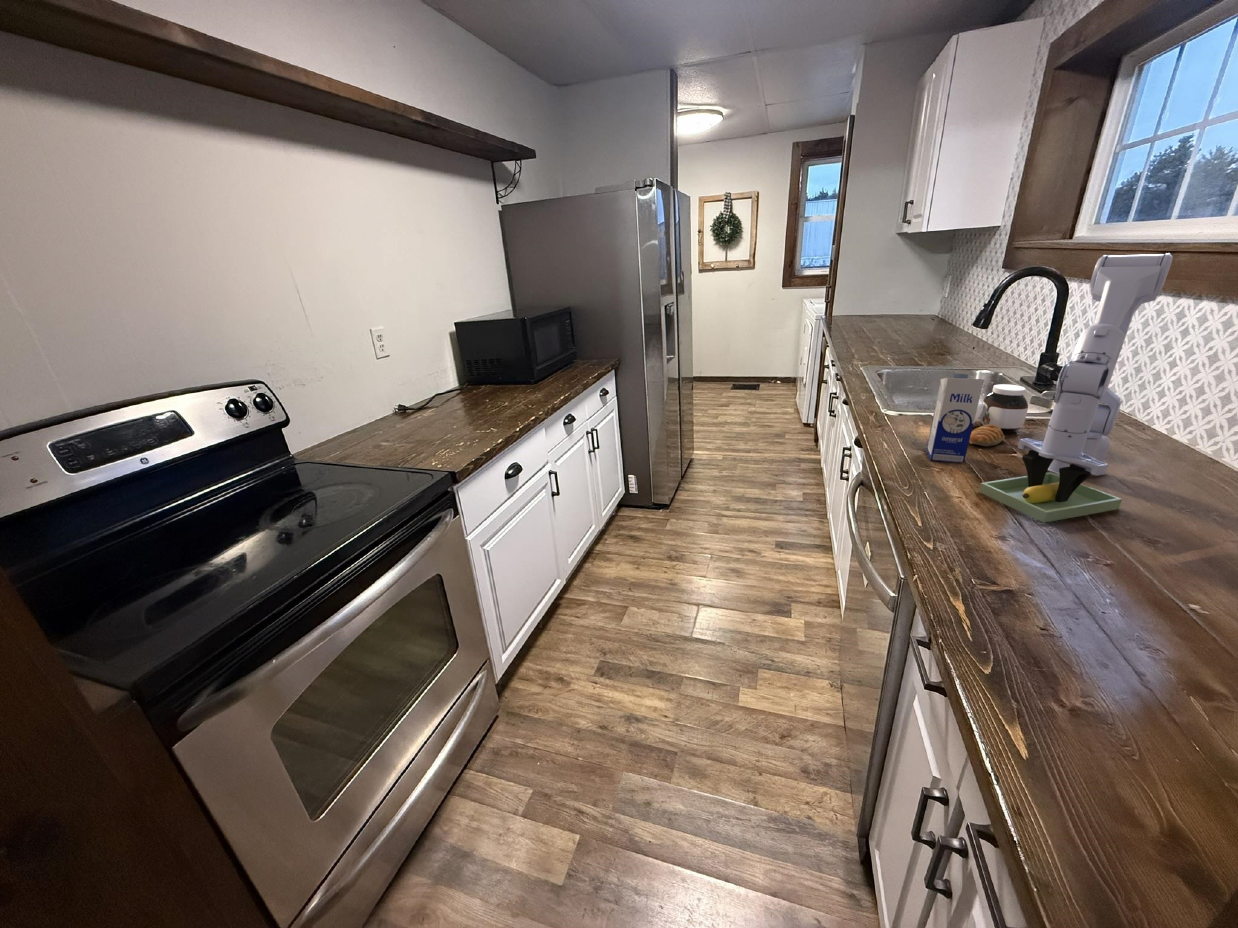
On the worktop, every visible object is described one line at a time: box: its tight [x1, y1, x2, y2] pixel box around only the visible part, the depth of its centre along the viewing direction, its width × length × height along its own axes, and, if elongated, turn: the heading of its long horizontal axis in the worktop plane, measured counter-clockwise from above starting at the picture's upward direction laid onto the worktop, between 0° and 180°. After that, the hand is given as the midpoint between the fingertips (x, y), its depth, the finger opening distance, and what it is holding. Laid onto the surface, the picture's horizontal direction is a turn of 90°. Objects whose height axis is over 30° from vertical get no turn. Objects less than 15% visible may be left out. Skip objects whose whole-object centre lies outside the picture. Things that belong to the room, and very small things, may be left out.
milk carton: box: [925, 373, 985, 464], centre depth 115 cm, size 7×7×20 cm
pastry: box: [969, 425, 1006, 448], centre depth 126 cm, size 9×7×4 cm
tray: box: [978, 471, 1123, 524], centre depth 96 cm, size 17×13×3 cm
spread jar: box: [974, 383, 1029, 434], centre depth 134 cm, size 12×11×12 cm
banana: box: [1022, 482, 1059, 503], centre depth 95 cm, size 11×3×3 cm, turn 103°
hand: (1047, 495), depth 96 cm, fingers open, 5 cm apart
